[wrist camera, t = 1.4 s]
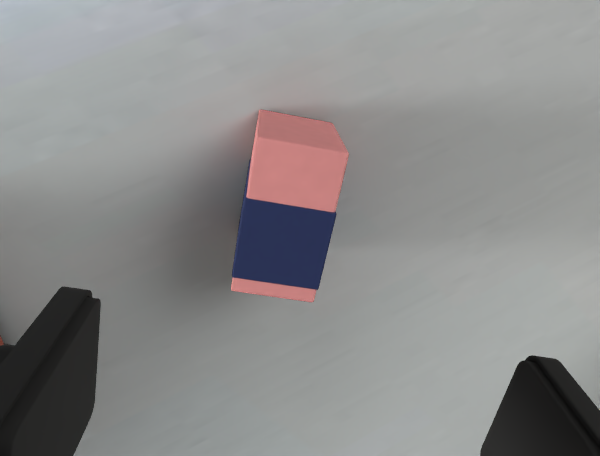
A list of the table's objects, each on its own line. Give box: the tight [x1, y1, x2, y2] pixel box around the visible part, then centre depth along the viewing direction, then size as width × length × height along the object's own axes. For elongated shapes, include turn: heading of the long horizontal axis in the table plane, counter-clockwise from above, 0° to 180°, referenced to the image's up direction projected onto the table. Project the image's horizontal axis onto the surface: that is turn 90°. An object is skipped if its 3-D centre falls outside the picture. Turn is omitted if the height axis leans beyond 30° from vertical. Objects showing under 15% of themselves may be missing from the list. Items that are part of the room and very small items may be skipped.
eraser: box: [231, 110, 349, 302], centre depth 21 cm, size 6×3×5 cm, turn 169°
